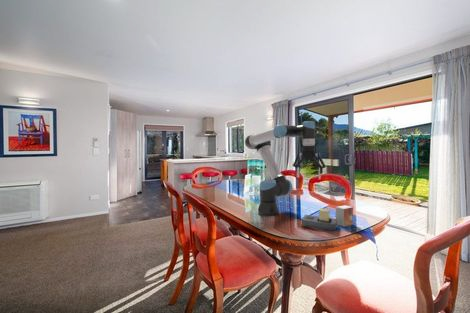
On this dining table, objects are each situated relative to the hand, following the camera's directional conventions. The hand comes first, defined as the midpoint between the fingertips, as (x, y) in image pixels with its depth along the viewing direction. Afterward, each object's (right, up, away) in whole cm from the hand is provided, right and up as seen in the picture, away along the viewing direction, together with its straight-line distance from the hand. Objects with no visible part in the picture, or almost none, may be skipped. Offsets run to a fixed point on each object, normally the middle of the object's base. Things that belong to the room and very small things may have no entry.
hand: (308, 178), depth 133 cm
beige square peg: (+4, -27, -15) cm, 31 cm away
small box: (+17, -26, -12) cm, 34 cm away
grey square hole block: (+1, -27, -13) cm, 30 cm away
